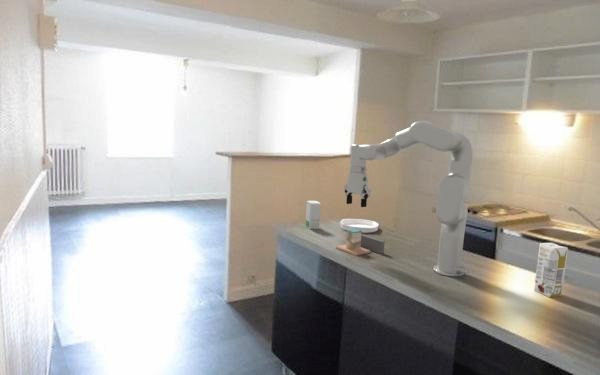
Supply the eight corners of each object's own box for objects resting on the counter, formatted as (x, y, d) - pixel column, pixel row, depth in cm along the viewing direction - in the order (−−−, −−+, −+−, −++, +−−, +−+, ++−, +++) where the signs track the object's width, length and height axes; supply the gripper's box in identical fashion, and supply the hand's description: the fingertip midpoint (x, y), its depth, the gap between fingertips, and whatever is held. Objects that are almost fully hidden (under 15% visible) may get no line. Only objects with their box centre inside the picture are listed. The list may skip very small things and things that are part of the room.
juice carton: (548, 298, 158) (555, 248, 155) (530, 289, 166) (536, 242, 163) (564, 297, 160) (571, 248, 157) (545, 288, 168) (552, 241, 165)
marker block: (360, 248, 208) (361, 231, 207) (353, 250, 205) (354, 232, 204) (353, 246, 212) (354, 228, 211) (345, 247, 209) (346, 229, 208)
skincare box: (305, 226, 255) (306, 200, 253) (315, 225, 257) (316, 200, 255) (309, 229, 247) (310, 203, 245) (320, 229, 249) (321, 202, 247)
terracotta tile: (370, 252, 206) (370, 250, 206) (355, 255, 200) (355, 253, 200) (350, 245, 217) (350, 243, 217) (335, 248, 211) (335, 246, 211)
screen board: (383, 253, 206) (384, 241, 205) (380, 253, 205) (381, 241, 204) (351, 242, 223) (352, 231, 223) (348, 242, 222) (349, 231, 221)
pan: (359, 222, 273) (360, 216, 272) (390, 232, 250) (391, 225, 250) (329, 225, 259) (329, 219, 259) (358, 236, 237) (359, 229, 237)
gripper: (376, 171, 199) (374, 207, 201) (350, 168, 212) (349, 202, 214) (365, 171, 194) (363, 209, 196) (339, 168, 208) (338, 203, 210)
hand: (356, 205), depth 205 cm, fingers open, 9 cm apart
